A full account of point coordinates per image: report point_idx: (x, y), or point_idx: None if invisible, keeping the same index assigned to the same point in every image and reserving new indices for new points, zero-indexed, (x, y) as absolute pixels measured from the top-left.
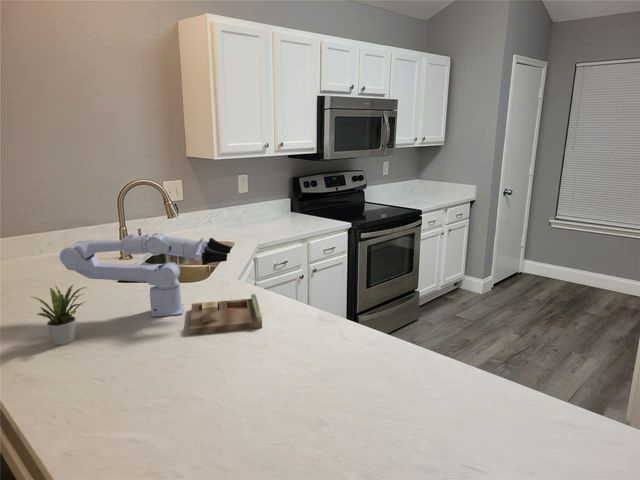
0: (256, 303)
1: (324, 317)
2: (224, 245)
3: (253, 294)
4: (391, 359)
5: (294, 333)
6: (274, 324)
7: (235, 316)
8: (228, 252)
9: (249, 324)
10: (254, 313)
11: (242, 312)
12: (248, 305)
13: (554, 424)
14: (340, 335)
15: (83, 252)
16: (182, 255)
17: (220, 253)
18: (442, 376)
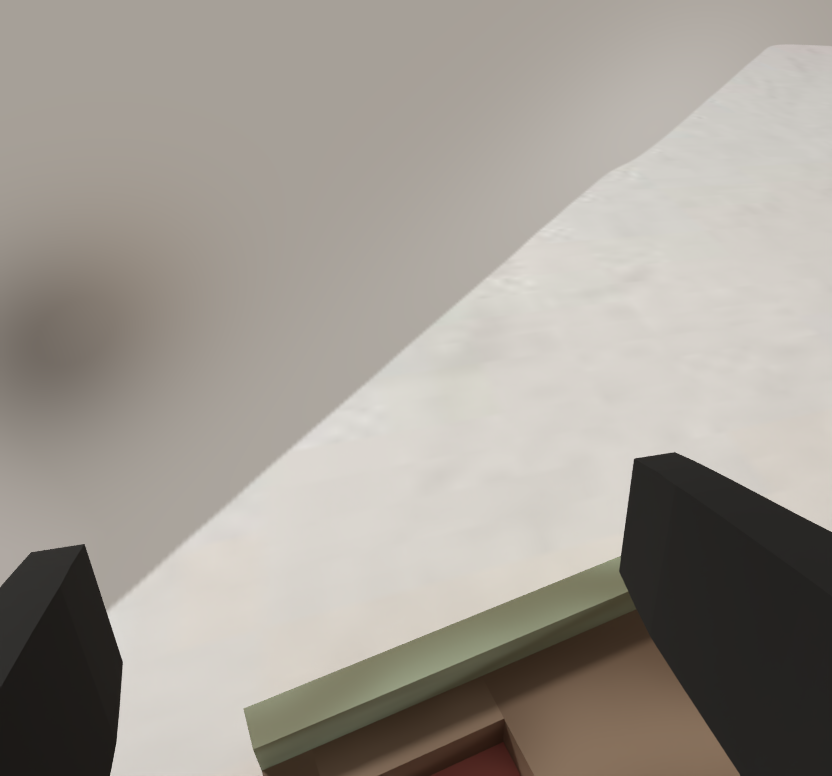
0: (480, 625)
1: (448, 354)
2: (19, 656)
3: (251, 726)
4: (720, 195)
5: (684, 414)
6: (619, 520)
7: (727, 761)
8: (110, 682)
9: None
10: (597, 629)
11: (615, 731)
12: (441, 736)
13: (813, 73)
14: (617, 291)
15: None
16: None
17: (804, 519)
18: (746, 140)
